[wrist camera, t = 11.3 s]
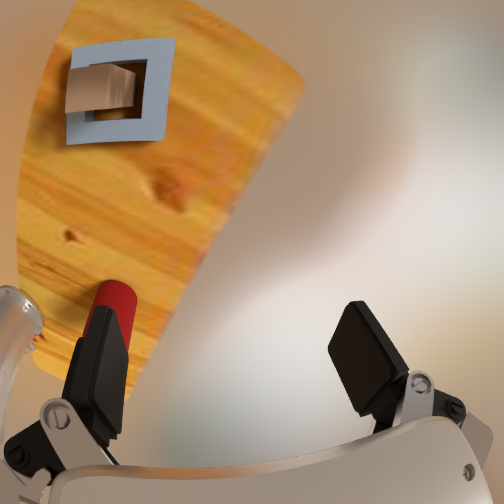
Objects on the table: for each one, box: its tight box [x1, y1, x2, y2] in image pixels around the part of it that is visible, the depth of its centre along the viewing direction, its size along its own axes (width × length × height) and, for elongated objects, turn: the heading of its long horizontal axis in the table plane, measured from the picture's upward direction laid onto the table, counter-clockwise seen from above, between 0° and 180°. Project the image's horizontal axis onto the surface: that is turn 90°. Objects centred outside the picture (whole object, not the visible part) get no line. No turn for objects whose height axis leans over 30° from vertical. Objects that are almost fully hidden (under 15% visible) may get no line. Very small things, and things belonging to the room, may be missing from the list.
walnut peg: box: [65, 64, 139, 113], centre depth 20 cm, size 4×4×11 cm
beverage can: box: [83, 281, 137, 352], centre depth 35 cm, size 7×7×12 cm
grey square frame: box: [66, 38, 176, 145], centre depth 24 cm, size 12×12×3 cm
